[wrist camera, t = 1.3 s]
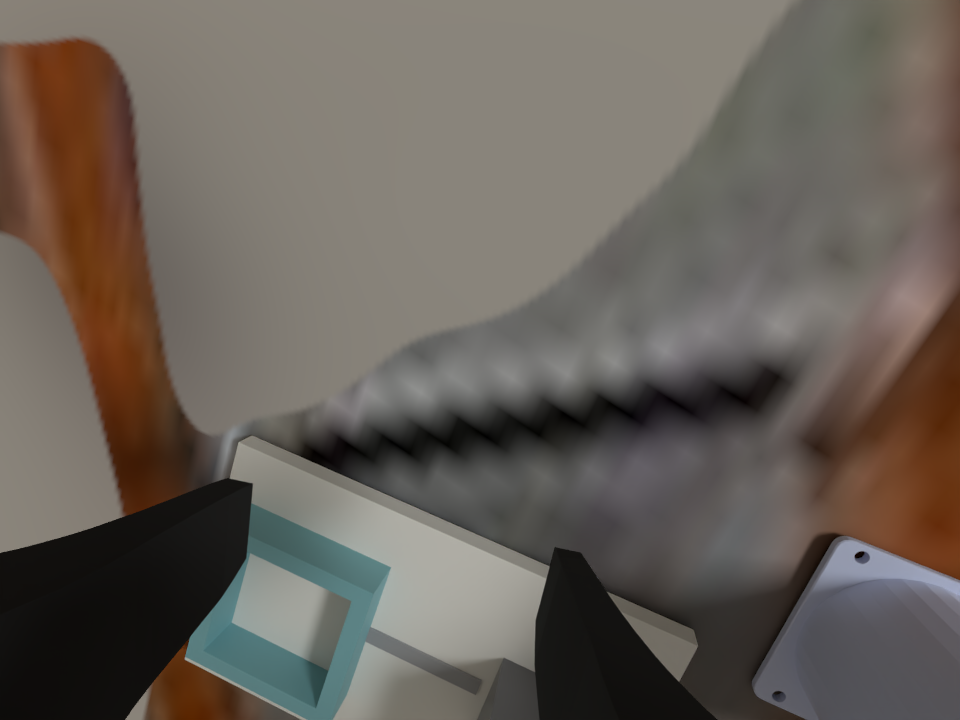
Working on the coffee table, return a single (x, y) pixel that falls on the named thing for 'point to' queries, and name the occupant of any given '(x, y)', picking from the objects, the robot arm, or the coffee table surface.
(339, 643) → the board
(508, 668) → the cable plug
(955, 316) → the coffee table surface
